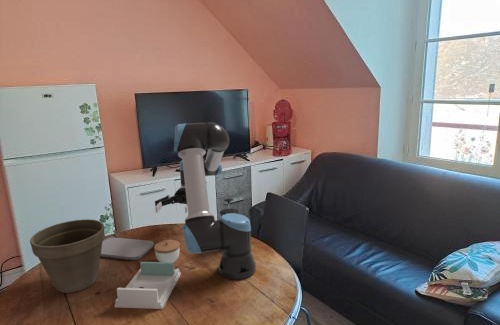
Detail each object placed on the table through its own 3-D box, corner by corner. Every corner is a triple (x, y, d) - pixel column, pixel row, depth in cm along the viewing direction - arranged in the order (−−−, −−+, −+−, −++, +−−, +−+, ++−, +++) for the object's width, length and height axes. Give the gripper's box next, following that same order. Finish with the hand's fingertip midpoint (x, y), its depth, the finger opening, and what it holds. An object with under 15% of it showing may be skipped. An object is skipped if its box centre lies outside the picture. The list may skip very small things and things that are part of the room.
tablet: (109, 241, 170) (109, 236, 169) (156, 245, 164) (156, 241, 163) (87, 256, 154) (86, 252, 154) (138, 262, 148) (137, 257, 148)
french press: (243, 241, 165) (241, 196, 160) (239, 250, 156) (238, 203, 151) (219, 240, 167) (217, 195, 162) (214, 249, 158) (212, 202, 153)
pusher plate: (142, 273, 136) (141, 261, 135) (174, 273, 135) (173, 262, 134) (141, 274, 135) (140, 263, 134) (173, 275, 134) (173, 263, 133)
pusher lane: (140, 273, 138) (138, 257, 137) (180, 274, 137) (179, 258, 135) (114, 307, 117) (112, 289, 116) (162, 309, 116) (160, 290, 114)
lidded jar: (174, 268, 141) (173, 248, 139) (151, 266, 143) (149, 246, 141) (184, 256, 151) (183, 237, 149) (162, 254, 154) (160, 235, 152)
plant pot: (23, 302, 121) (13, 246, 116) (61, 266, 145) (54, 219, 140) (93, 301, 121) (85, 245, 116) (119, 265, 145) (114, 218, 140)
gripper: (208, 201, 173) (198, 217, 152) (160, 201, 174) (144, 217, 154) (207, 187, 171) (198, 202, 150) (159, 187, 173) (143, 201, 152)
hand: (171, 209), depth 152 cm, fingers open, 13 cm apart
